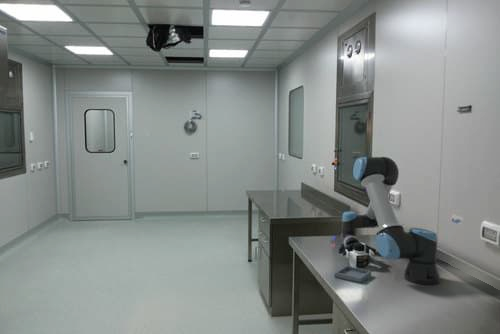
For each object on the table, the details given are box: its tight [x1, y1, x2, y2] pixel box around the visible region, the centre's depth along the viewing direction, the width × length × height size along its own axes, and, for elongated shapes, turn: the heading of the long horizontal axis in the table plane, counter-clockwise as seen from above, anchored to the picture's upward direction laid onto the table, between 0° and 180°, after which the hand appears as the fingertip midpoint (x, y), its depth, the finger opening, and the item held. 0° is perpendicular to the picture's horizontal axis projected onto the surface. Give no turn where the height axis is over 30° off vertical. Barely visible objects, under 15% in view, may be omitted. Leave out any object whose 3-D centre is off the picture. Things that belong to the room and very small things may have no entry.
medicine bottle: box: [348, 241, 370, 269], centre depth 206 cm, size 7×7×12 cm
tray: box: [334, 265, 372, 285], centre depth 191 cm, size 13×13×2 cm
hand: (360, 255), depth 202 cm, fingers open, 11 cm apart
